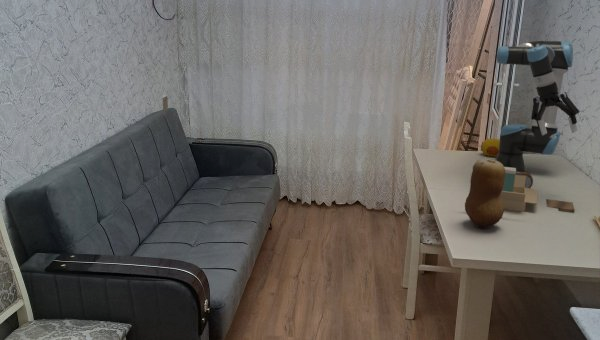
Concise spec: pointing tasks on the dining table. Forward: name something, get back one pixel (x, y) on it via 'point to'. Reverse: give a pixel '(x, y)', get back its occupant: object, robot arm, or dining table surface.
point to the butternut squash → (485, 193)
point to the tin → (528, 178)
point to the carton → (518, 195)
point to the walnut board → (561, 205)
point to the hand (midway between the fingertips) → (559, 132)
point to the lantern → (490, 147)
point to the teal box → (509, 179)
